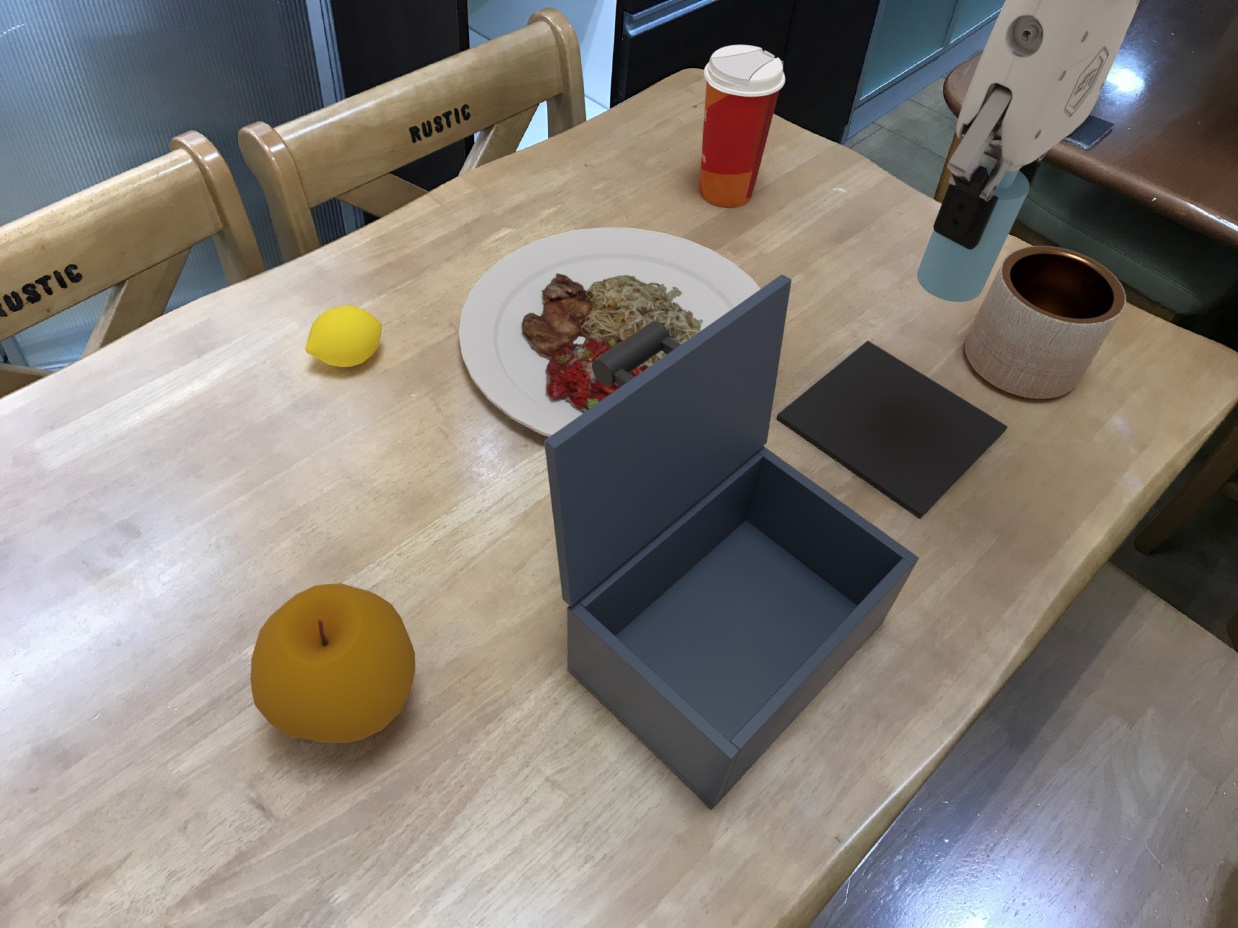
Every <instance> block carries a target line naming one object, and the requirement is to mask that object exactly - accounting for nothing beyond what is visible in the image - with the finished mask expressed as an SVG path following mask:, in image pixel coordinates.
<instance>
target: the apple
mask: <svg viewBox="0 0 1238 928" xmlns="http://www.w3.org/2000/svg"><path fill="white" fill-rule="evenodd" d="M250 661H251V664H250V689H251V694H252V699H253V703H254V706H255V708H256V709H257V710H258V711H259V712H260V714H261V715H262V716H263V717H264V719H265V720H266V721H267V722H268V723H269V724H270V725H271V726H272V727H273V728H275V729H276V730H278V731H280V732H281V733H283V734H285V735H286V736H288V737H291V738H296V739H302V740H307V741H308V740H309V741H313V742H320V743H327V744H329V743H330V744H331V743H332V744H333V743H335V744H350V743H354V742H358V741H363V740H365V739H367V738H369V737H371V736H373V735H375V734H377V733H379V732H381V731H383V730H384V729H385V728H386V727H387V726H388V725H389V724H391V722H392V721H393V720H394V719H395V718H396V717H397V716H398V715H399V714H400V713H401V712H402V711H403V709H404V706H405V704H406V701H407V698H408V697H409V694H410V691H411V689H412V686H413V681H414V678H415V673H416V651H415V649H414V645H413V643H412V640H411V637H410V635H409V633H408V631H407V628H406V626H405V624H404V620H403V619H402V616H401V615H400V614H399V612H398V611H397V609H396V608H395V607H394V605H393V604H392V603H391V602H389V601H387V600H386V599H384V598H383V597H382V596H380V595H378V594H376V593H374V592H372V591H370V590H367V589H364V588H359V587H356V586H352V585H348V584H345V583H340V582H339V583H323V584H316V585H313V586H311V587H309V588H306V589H304V590H302V591H301V592H299V593H296V594H294V595H293V596H292V597H291V598H289V599H288V600H287V601H285V603H283V604H282V605H281V606H280V607H278V609H276V610H275V611H274V612H272V614H271V615H270V616H269V617H268V618H267V619H266V621H265V622H264V624H263V625H262V626H261V627H260V629H259V631H258V634H257V638H256V642H255V644H254V648H253V651H252V655H251V659H250Z"/></svg>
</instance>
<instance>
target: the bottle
mask: <svg viewBox="0 0 1238 928" xmlns="http://www.w3.org/2000/svg"><path fill="white" fill-rule="evenodd" d="M992 141H993V142H995V143H997V144H1000V145H1002V139H1001V140H1000V139H993V140H992ZM996 161H997V160H996V159H994V158H992V157H990V156H988V155H986V154H983V156H982V158H981V166H983V167H985V168H987V171H988V175H990V173H991V171H992V169H993V167H994V165H995V163H996ZM1021 167H1022V166H1021ZM1021 167H1015V166H1013V165H1012V162H1011V163H1010V165H1009V167H1008V169H1007V171H1006V173H1005V175H1004V177H1003V179H1002V181H1001V182H1000V184H999V186H998V188H997V190H996V192H995V194H994V195H995V196H997V197H999V199H998V201H997V203H996V205H995V208H994V210H993V212H992V214H991V217H990V219H989V221H988V224H987V226H986V228H985V230H984V233H983V235H982V237H981V240H980V242H979V244H978V245H977V246H976V247H975V248H974V249H972V250H969V249H966V248H965V247H963V246H961V245H959V244H957V243H955V242H953V241H951V240H950V239H948V238H946V237H944V236H942V235H940V234H938V233H936V232H935V231H934V229H933V231H932V232H931V235H930V237H929V241H928V243H927V246H926V248H925V251H924V254H923V255H922V258H921V260H920V263H919V266H918V269H917V272H916V278H917V281H918V283H919V285H920V286H921V287H922V288H923V289H924V291H926V292H927V293H929V294H930V295H932V296H933V297H936V298H938V299H939V300H944V301H947V302H953V303H954V302H956V303H964V302H965V303H966V302H970V301H972V300H975V299H976V298H977V297H979V296H980V295H981V293H982V292H983V290H984V288H985V286H986V283H987V281H988V279H989V277H990V275H991V272H992V271H993V269H994V267H995V264H996V262H997V260H998V257H999V255H1000V254H1001V252H1002V249H1003V247H1004V244H1005V243H1006V240H1007V239H1008V236H1009V234H1010V232H1011V230H1012V227H1013V225H1014V223H1015V221H1016V219H1017V217H1018V214H1019V212H1020V211H1021V209H1022V207H1023V205H1024V202H1025V201H1026V198H1027V196H1028V194H1027V193H1029V192H1028V191H1030V189H1029V182H1028V180H1027V178H1026V177H1025V176H1024V174H1022V173H1021V172H1020V171H1019V169H1020V168H1021ZM1026 195H1027V196H1026ZM1021 206H1022V207H1021ZM1020 208H1021V209H1020ZM1019 210H1020V211H1019Z"/></svg>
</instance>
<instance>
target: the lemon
mask: <svg viewBox="0 0 1238 928" xmlns="http://www.w3.org/2000/svg"><path fill="white" fill-rule="evenodd" d="M382 330H383V325H382V323H381V321H380V320H379V319H378V318H376V317H375V316H374V315H373V314H372V313H370V312H369V311H367V310H365V309H364V308H362V307H358V306H355V305H352V304H347V305H341V306H336V307H332V308H328V309H326V310H325V311H324V312H322V313H321V314H319V315H318V316H317V317H316V318H315V320H314V321H312V324H311V326H310V329H309V333H308V335H307V336H308V337H307V341H306V344H305V347H304V349H305V351H306V354H308V355H310V356H312V357H313V358H316V359H317V360H320V361H321V362H323V363H325V364H327V365H328V366H332V367H333V366H334V367H339V368H352V367H355V366H359V365H360V364H363V363H365V362H366V361H367V360H368V359H370V358H371V357H372V355H373V354H374V353H376V351H377V350H378V349H379V345H380V342H381V337H382Z"/></svg>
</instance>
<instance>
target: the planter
mask: <svg viewBox="0 0 1238 928" xmlns="http://www.w3.org/2000/svg"><path fill="white" fill-rule="evenodd" d="M1126 303H1127V295H1126V292H1125V289H1124V287H1123V284H1122V283H1121V282H1120V281H1119V279H1118V278H1117V276H1116V275H1115V274H1114V273H1112V271H1110V269H1108V268H1107V267H1105V266H1104V265H1103V264H1101V263H1100V262H1098V261H1096V260H1095V259H1094V258H1091V257H1089V256H1087V255H1085V254H1082V253H1079V252H1077V251H1074V250H1071V249H1068V248H1064V247H1060V246H1059V247H1058V246H1050V245H1031V246H1025V247H1022V248H1019V249H1016V250H1014V251H1012V252H1011V253H1009V254H1008V255H1006V256H1005V258H1004V259H1003V260H1002V262H1001V264H1000V265H999V267H998V270H997V272H996V274H995V276H994V278H993V280H992V283H991V284H990V287H989V288H988V291H987V293H986V295H985V297H984V299H983V301H982V303H981V305H980V307H979V308H978V311H977V313H976V315H975V316H974V319H973V320H972V323H971V325H970V327H969V328H968V331H967V333H966V337H965V341H964V353H965V357H966V359H967V361H968V363H969V364H970V366H971V367H972V369H973V370H974V371H975V372H976V373H977V374H978V375H979V376H980V377H981V378H982V379H983V380H984V381H985V382H987V383H989V384H990V385H992V386H993V387H995V388H997V389H998V390H1001V391H1003V392H1005V393H1008V394H1010V395H1013V396H1016V397H1021V398H1025V399H1032V400H1033V399H1034V400H1047V399H1048V400H1049V399H1055V398H1058V397H1061V396H1064V395H1066V394H1068V393H1069V392H1071V391H1072V390H1073V389H1074V388H1075V387H1076V386H1078V384H1079V383H1080V381H1081V380H1082V379H1083V377H1084V375H1085V374H1086V371H1087V370H1088V369H1089V367H1090V365H1091V364H1092V362H1093V360H1094V359H1095V357H1096V355H1097V354H1098V352H1099V351H1100V349H1101V347H1102V346H1103V344H1104V342H1105V340H1106V339H1107V338H1108V336H1109V334H1110V333H1111V331H1112V329H1113V328H1114V326H1115V324H1116V323H1117V321H1118V319H1119V318H1120V317H1121V315H1122V313H1123V311H1124V310H1125V307H1126Z"/></svg>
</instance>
